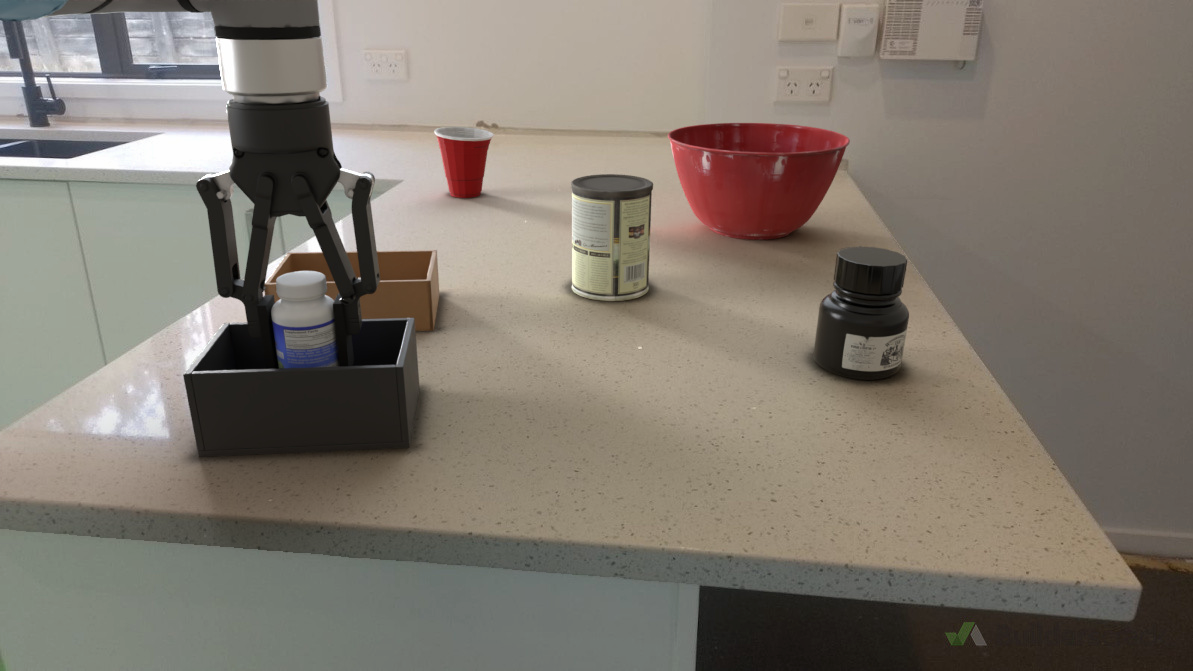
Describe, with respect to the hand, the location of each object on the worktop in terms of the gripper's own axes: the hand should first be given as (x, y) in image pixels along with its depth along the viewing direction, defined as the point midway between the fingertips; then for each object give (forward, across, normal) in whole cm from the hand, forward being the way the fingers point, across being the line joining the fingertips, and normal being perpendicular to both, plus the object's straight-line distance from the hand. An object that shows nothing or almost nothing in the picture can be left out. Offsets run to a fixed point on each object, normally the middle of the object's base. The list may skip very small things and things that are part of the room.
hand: (311, 368), depth 74 cm
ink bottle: (+6, -54, -8) cm, 55 cm away
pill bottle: (+2, 0, 0) cm, 2 cm away
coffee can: (+6, -31, -34) cm, 46 cm away
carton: (+5, 0, -27) cm, 27 cm away
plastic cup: (+5, -11, -89) cm, 90 cm away
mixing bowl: (+6, -58, -62) cm, 85 cm away
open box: (+5, 0, 0) cm, 5 cm away
